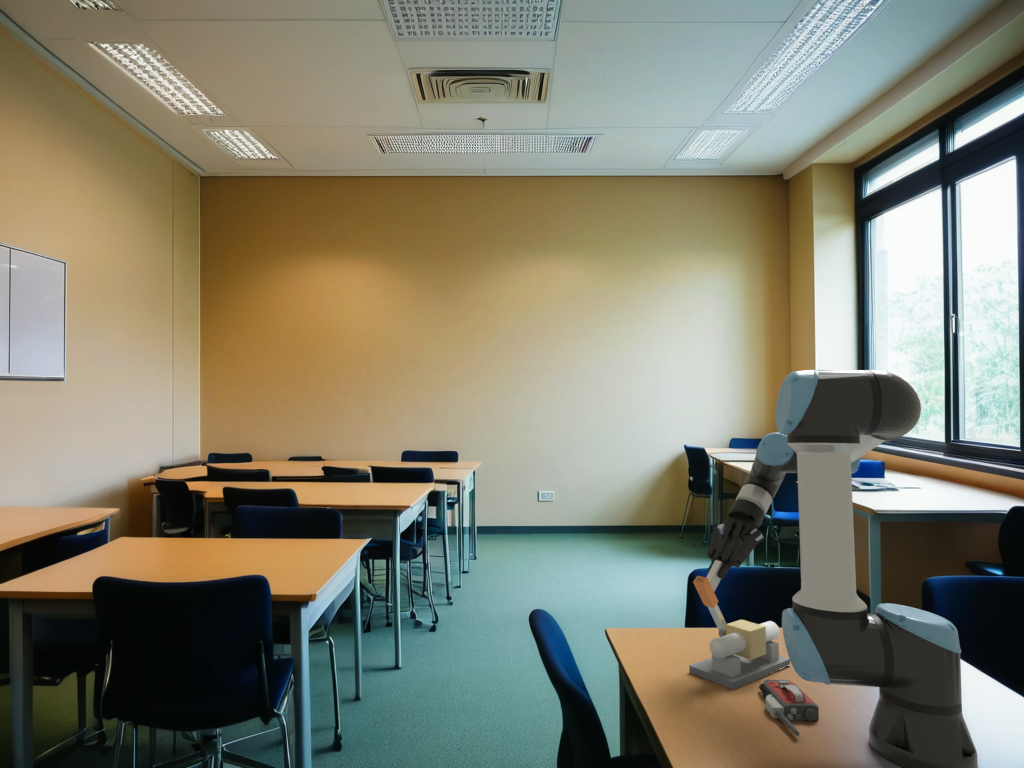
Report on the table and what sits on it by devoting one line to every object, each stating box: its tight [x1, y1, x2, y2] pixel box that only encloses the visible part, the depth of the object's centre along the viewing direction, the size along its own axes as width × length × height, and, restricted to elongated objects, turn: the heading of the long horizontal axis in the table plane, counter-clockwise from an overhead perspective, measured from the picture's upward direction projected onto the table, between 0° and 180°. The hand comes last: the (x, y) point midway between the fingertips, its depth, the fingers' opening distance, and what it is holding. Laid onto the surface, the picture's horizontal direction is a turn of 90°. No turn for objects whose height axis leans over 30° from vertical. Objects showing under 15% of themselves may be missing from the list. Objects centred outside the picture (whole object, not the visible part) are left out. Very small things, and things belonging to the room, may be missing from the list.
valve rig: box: [688, 619, 791, 690], centre depth 138 cm, size 22×11×10 cm, turn 126°
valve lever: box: [692, 575, 727, 637], centre depth 139 cm, size 3×3×17 cm
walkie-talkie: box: [758, 679, 820, 737], centre depth 116 cm, size 9×4×20 cm
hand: (708, 587), depth 138 cm, fingers closed
